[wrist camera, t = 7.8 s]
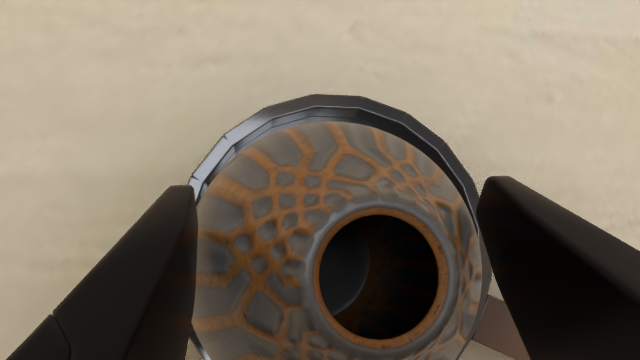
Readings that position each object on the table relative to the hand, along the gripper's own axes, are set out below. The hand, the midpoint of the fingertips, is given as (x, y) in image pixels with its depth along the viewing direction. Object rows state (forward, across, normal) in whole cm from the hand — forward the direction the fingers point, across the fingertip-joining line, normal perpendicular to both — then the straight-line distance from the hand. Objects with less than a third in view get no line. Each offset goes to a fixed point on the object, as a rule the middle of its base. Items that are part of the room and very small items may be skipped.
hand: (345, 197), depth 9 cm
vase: (+4, 0, +6) cm, 7 cm away
